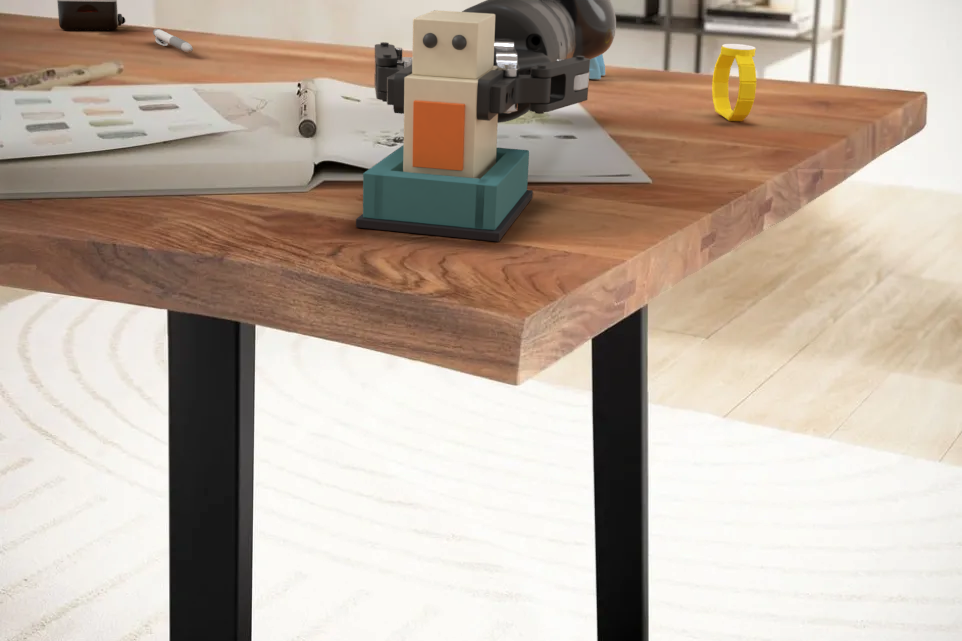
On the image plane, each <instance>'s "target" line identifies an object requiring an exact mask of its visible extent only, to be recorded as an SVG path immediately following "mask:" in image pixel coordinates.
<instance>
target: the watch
mask: <svg viewBox="0 0 962 641" xmlns="http://www.w3.org/2000/svg"><path fill="white" fill-rule="evenodd" d="M756 50H757V49H756V46H753V45H748V44H742V43H724V44H722V45H721V47H720V53H719V54H718V57H717V60H716V62H715V65H714V68H713V74H712V79H711V81H712V82H711V88H712V89H711V97H712V103H713V107H714V111H715V113H716V114H718V115H720V116H722V117H723V118H724V119H725V120H727V121H728V122H744V120H745V119H746V118H747V117H748V116H749V115H750V113H751V111H752V108H753V106H754V103H755V99H756V92H757V91H756V90H757V71H756V70H757V69H756V64H755V62H754V59H753V58H754V57H755V56H756ZM734 62H736V65H737V70H738V81H739V83H738V93H737V99H736V102H735V104H734V108H733V109H732V106H731V102H730V98H729V80H730V76H731V69H732V66H733V63H734Z"/></svg>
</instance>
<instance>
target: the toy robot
mask: <svg viewBox="0 0 962 641" xmlns="http://www.w3.org/2000/svg"><path fill="white" fill-rule="evenodd" d="M494 38H495V14H488V13H471V12H462V11H454V10H453V11H452V10H438V9H436V10H435V9H434V10H431V11H429V12H426V13H424V14H421V15H419V16H417V17H414V18H413V19H412V50H411V51H412V52H411V54H412V55H411V57H412V74H410V75H408V76H406V77H405V78H404V114H403V145H404V156H403V172H412V173H423V174H434V175H445V176H456V177H467V178H478V179H481V178H482V177H483V176H484V175H485V174H486V173H487V172H488V171H489V170H490V169H491V168H492V167H493V166H494V165H495V164H496V149H497V148H498V147H497V146H498V124H499V123H498V114H497V115H496V116H494V117H493V118H492V119H491V120H490V121H487V120H478V119H477V87H478V79H479V78H481V77H482V76H483V75H485V74H486V73H488V72H489V71H491V70H497V66H493V65H494Z"/></svg>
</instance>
